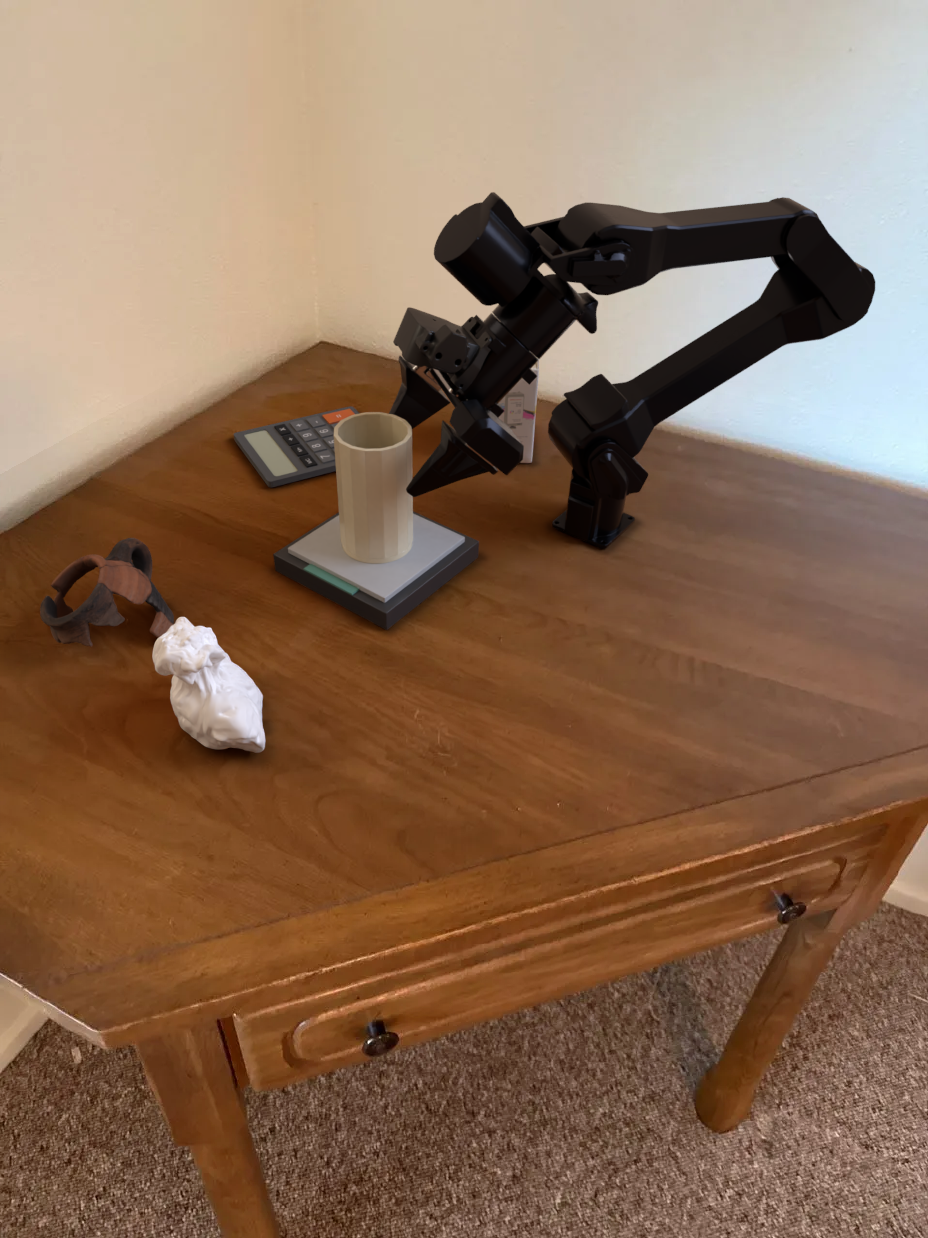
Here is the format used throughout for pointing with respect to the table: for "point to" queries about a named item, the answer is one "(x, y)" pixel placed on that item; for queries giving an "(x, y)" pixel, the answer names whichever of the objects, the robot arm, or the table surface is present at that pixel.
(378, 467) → the cup
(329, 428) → the calculator
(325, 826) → the table surface
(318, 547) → the scale
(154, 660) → the white tied bag
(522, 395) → the ink cartridge box
